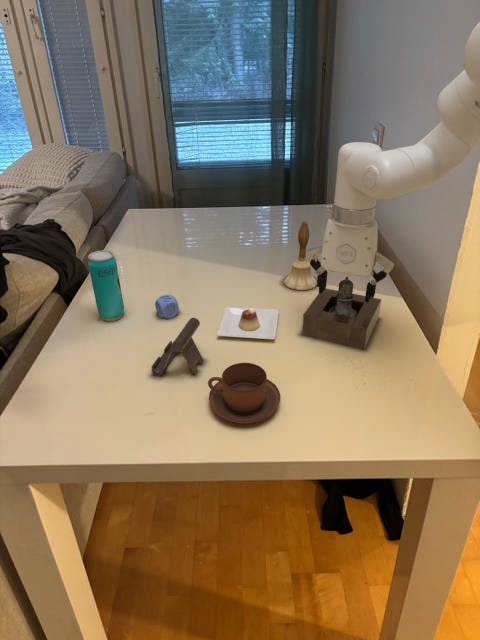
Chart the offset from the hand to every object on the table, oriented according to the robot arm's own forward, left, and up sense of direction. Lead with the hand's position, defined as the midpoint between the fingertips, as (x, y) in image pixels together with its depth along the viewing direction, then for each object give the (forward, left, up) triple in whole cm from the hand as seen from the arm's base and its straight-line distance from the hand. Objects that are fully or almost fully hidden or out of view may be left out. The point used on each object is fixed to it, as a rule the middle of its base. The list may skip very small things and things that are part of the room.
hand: (344, 294), depth 96 cm
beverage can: (+48, +17, -8) cm, 52 cm away
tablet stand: (+24, +26, -8) cm, 36 cm away
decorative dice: (+37, +11, -8) cm, 40 cm away
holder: (0, 0, -8) cm, 8 cm away
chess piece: (0, 0, -8) cm, 8 cm away
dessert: (+18, +8, -8) cm, 21 cm away
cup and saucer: (+8, +31, -8) cm, 33 cm away
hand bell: (+15, -16, -8) cm, 23 cm away
